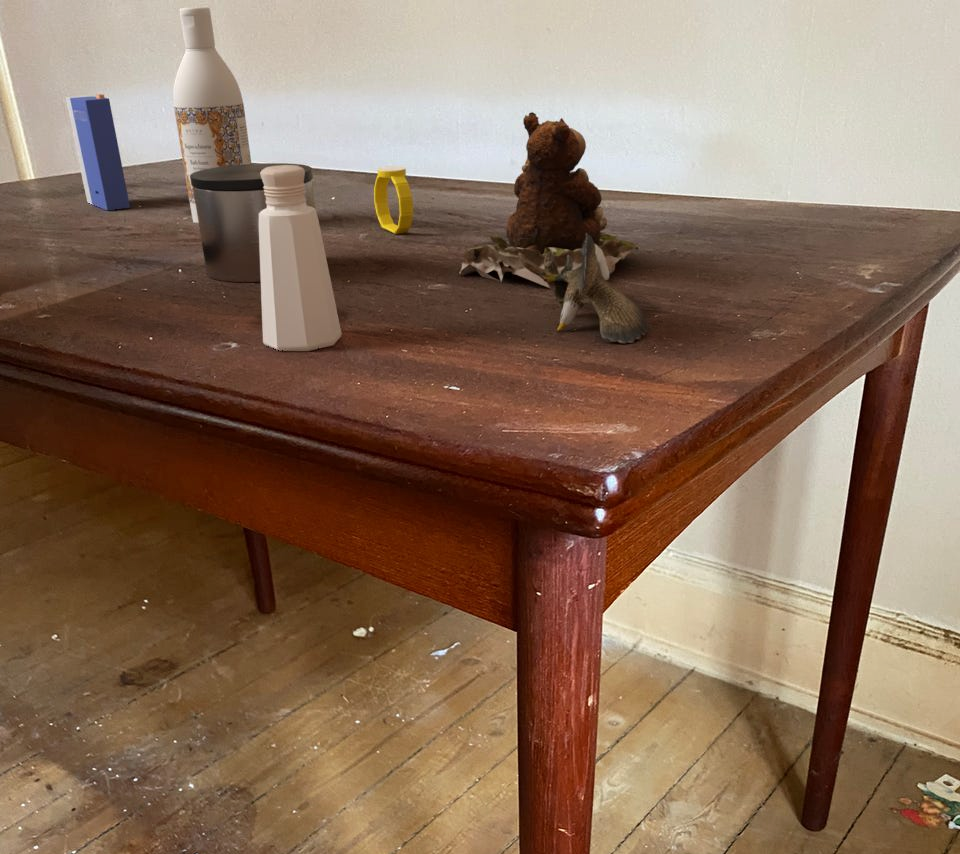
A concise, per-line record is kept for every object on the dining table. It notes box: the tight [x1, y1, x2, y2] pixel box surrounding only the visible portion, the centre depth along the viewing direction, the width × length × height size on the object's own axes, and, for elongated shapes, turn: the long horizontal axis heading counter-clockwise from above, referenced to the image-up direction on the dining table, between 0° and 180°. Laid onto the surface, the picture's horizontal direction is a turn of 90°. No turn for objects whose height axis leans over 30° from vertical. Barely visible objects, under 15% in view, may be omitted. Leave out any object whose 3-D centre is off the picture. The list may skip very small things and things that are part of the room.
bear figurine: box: [458, 112, 639, 289], centre depth 86 cm, size 14×15×12 cm
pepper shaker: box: [259, 165, 343, 352], centre depth 69 cm, size 5×5×11 cm
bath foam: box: [172, 6, 252, 224], centre depth 107 cm, size 7×7×20 cm
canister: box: [190, 162, 316, 283], centre depth 90 cm, size 10×10×8 cm
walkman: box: [65, 93, 131, 211], centre depth 123 cm, size 8×3×12 cm, turn 35°
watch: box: [373, 165, 414, 235], centre depth 104 cm, size 6×3×6 cm, turn 31°
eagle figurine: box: [518, 233, 649, 345], centre depth 71 cm, size 8×7×9 cm
